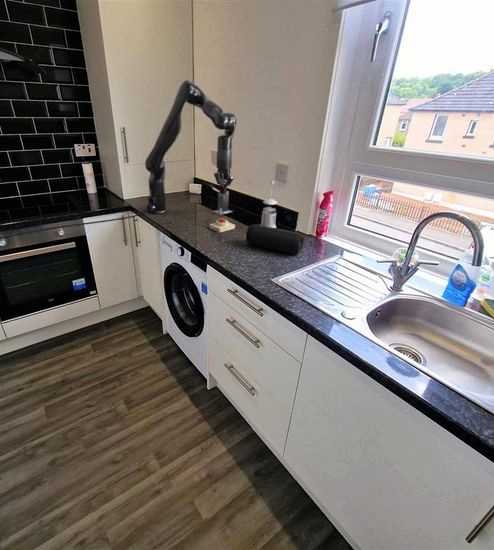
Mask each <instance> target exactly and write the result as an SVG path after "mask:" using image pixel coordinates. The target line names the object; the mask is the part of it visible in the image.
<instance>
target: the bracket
mask: <svg viewBox="0 0 494 550" xmlns="http://www.w3.org/2000/svg"><path fill="white" fill-rule="evenodd" d="M229 197H230V191H228V190H227V191H226V194H222V196H221V195H220V193H219V192H217V210H212V212H214V213H216V214H218V215H225V214H230V213H233V212H234V211H233V210H230V209H229V199H230V198H229Z"/></svg>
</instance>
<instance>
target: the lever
mask: <svg viewBox="0 0 494 550" xmlns="http://www.w3.org/2000/svg"><path fill="white" fill-rule="evenodd" d="M207 189H208V190H213V191H215V192H217V193H218V192H219V193H220V189H217V188H216V187H214V185H213V184H212V183H209V184H207ZM220 195H221V196H222V194H221V193H220Z"/></svg>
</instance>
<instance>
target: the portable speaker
mask: <svg viewBox="0 0 494 550" xmlns="http://www.w3.org/2000/svg"><path fill="white" fill-rule="evenodd" d="M245 240H246V242H247V243H248V244H250V245H252V246H255V247H259V248H264V249H268V250H272V251H277V252H280V253H285V254H289V255H298V254H300V253H301V251H302V249H303V245H304V242H305V241H304V240H305V236H304V234H301V233H300V232H297V231H292V230H287V229H281V228H277V227H276V228H272V227H267V226H262V225H260V224H250V225H249V226H248V228H247V230H246V233H245Z"/></svg>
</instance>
